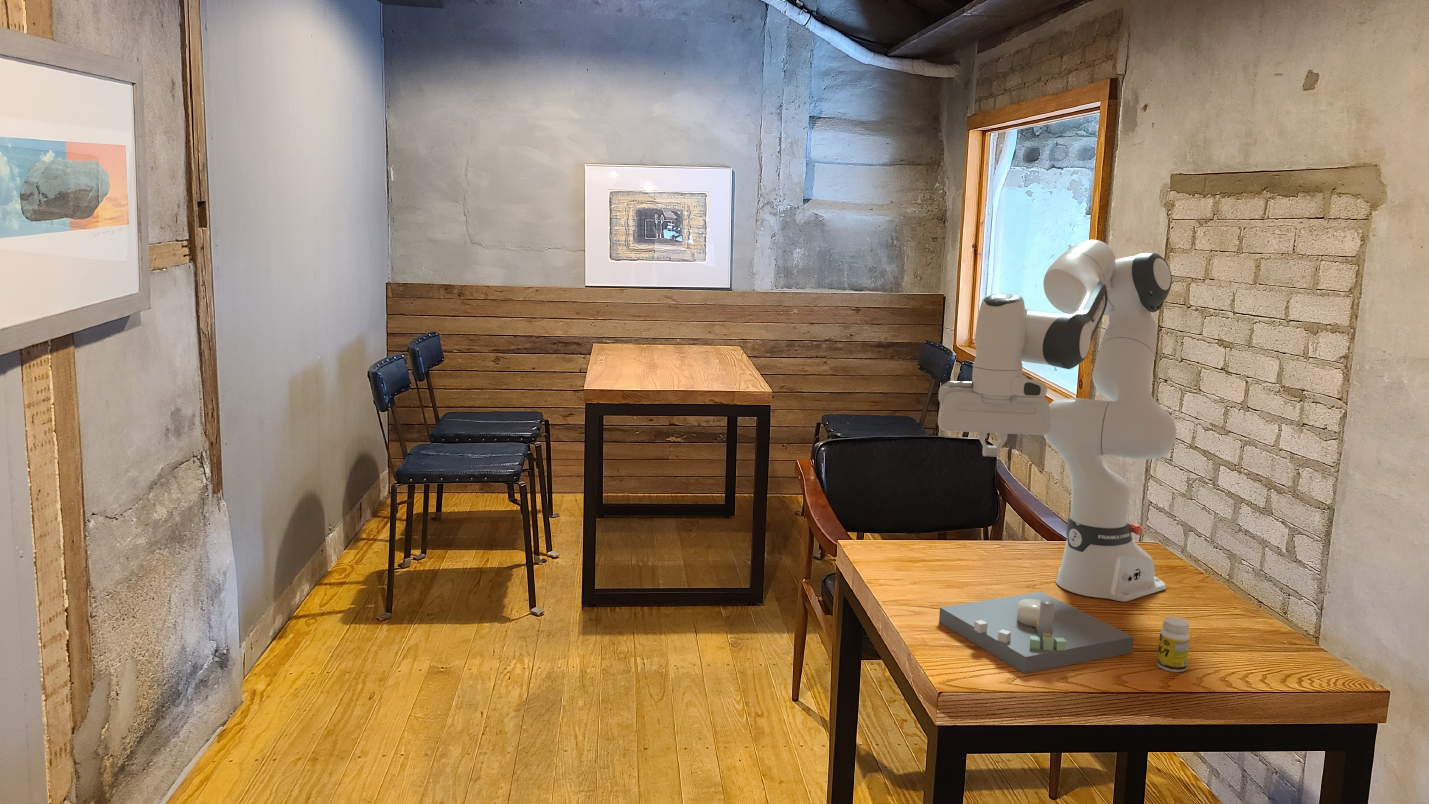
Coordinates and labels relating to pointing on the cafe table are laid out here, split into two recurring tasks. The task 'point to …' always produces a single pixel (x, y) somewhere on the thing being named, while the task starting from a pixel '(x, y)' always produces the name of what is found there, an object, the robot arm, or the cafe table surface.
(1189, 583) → the cafe table surface
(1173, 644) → the supplement bottle
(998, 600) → the dial plate
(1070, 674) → the cafe table surface
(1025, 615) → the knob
